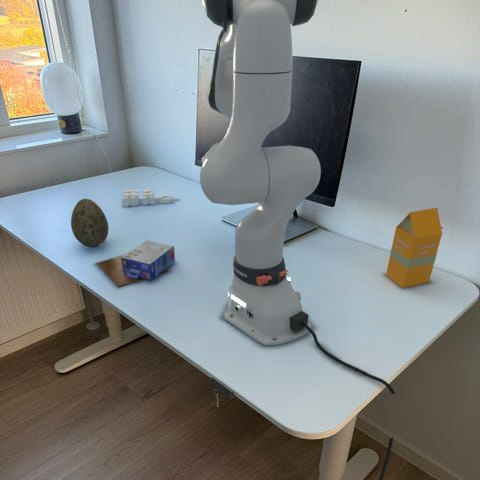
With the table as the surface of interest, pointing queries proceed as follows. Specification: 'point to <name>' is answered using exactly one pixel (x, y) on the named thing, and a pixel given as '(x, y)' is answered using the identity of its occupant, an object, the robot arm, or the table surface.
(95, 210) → the decorative egg
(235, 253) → the robot arm
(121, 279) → the placemat
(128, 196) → the modular blocks
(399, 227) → the orange juice
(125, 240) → the table surface
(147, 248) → the ink cartridge box
